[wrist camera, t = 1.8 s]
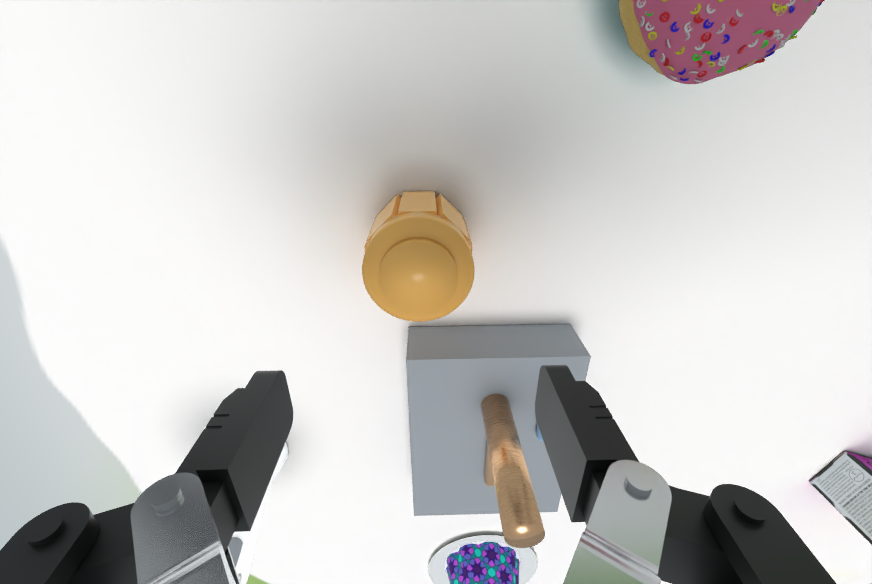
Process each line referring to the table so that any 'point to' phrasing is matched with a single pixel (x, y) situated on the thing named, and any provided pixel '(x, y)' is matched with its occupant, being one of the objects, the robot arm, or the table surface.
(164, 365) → the table surface
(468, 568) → the pudding
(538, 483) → the box
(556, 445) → the robot arm
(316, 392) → the table surface
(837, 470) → the candy bar box
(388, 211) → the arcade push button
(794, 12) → the cupcake
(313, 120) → the table surface
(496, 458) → the wooden post
